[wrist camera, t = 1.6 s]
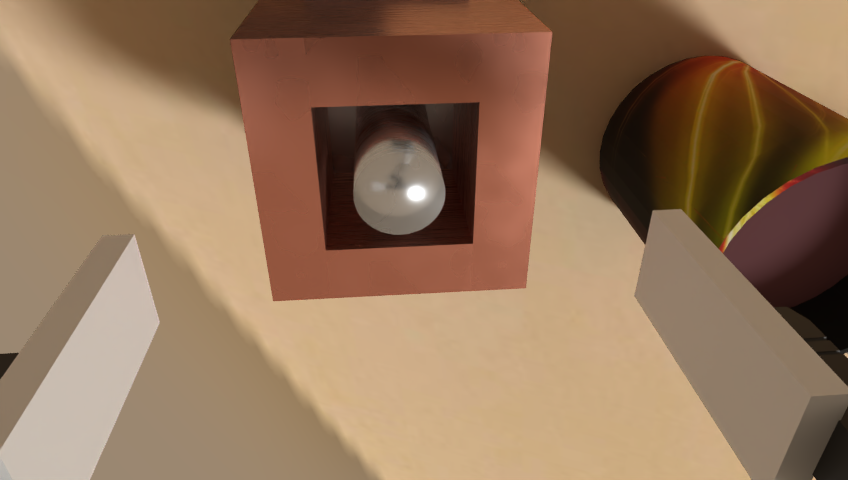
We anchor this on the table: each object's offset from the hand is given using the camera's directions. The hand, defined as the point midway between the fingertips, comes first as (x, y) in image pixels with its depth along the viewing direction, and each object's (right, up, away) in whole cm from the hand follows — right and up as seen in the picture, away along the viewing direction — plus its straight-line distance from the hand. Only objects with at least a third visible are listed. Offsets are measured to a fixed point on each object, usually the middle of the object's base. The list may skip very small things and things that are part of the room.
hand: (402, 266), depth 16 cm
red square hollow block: (-1, +6, +9) cm, 10 cm away
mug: (+17, +6, +17) cm, 25 cm away
